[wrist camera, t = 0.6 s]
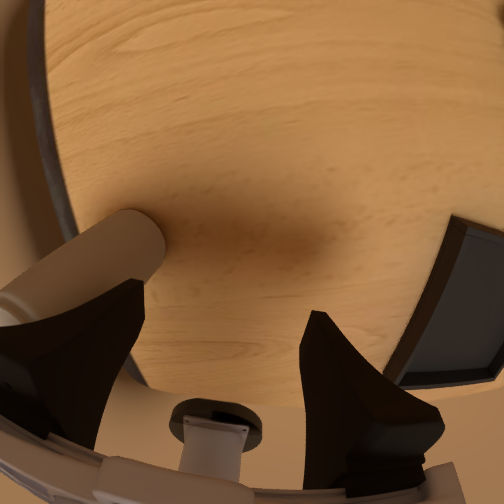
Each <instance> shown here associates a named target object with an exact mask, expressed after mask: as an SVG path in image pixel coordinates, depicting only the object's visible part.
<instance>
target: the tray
mask: <svg viewBox="0 0 504 504" xmlns="http://www.w3.org/2000/svg"><path fill="white" fill-rule="evenodd" d="M503 368H504V232H501V231H498V230H495V229H493V228H490V227H487V226H484V225H481V224H478V223H475V222H472V221H468V220H465V219H462V218H459V217H456V216H451V219H450V222H449V226H448V229H447V232H446V235H445V238H444V241H443V243H442V246H441V249H440V252H439V255H438V257H437V260H436V263H435V265H434V268H433V270H432V273H431V275H430V278H429V280H428V283H427V285H426V287H425V290H424V292H423V294H422V297H421V299H420V301H419V303H418V306H417V308H416V310H415V312H414V314H413V316H412V318H411V320H410V322H409V325H408V327H407V329H406V331H405V333H404V335H403V336H402V338H401V340H400V342H399V344H398V346H397V348H396V350H395V352H394V353H393V355H392V357H391V359H390V361H389V362H388V364H387V366H386V368H385V369H384V371H383V376H385V377H386V378H387V379H389V380H390V381H391V382H393V383H394V384H395V385H397V386H398V387H400V388H401V389H403V390H418V389H432V388H444V387H454V386H462V385H470V384H477V383H484V382H491V381H494V380H495V379H496V377H497V376H498V375H499V373H500V372H501V371H502V369H503Z"/></svg>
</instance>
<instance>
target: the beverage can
mask: <svg viewBox="0 0 504 504" xmlns="http://www.w3.org/2000/svg"><path fill="white" fill-rule="evenodd" d="M165 250H166V246H165V241H164V237H163V235H162V233H161V231H160V229H159V228H158V226H157V225H156V224H155V223H154V222H153V221H152V220H151V219H150V218H149V217H147V216H146V215H144V214H142V213H141V212H139V211H135V210H132V209H126V210H120V211H118V212H116V213H114V214H112V215H111V216H109V217H107V218H105V219H104V220H102V221H100V222H99V223H97V224H96V225H94V226H92V227H91V228H89V229H87V230H86V231H84V232H83V233H81V234H79V235H78V236H76V237H75V238H73V239H72V240H70V241H69V242H67V243H65V244H64V245H62V246H61V247H59V248H58V249H56V250H55V251H53V252H52V253H51V254H49V255H48V256H47V257H45V258H43V259H42V260H40V261H39V262H38V263H36V264H35V265H33V266H32V267H31V268H29V269H28V270H26V271H25V272H24V273H22V274H21V275H19V276H18V277H17V278H15V279H14V280H13V281H11V282H10V283H9V284H8V285H6V286H5V287H4V288H2V289H1V290H0V327H1V326H11V325H19V324H24V323H30V322H34V321H38V320H42V319H45V318H48V317H52V316H55V315H58V314H61V313H63V312H66V311H69V310H71V309H73V308H76V307H78V306H80V305H82V304H84V303H86V302H88V301H90V300H92V299H94V298H96V297H98V296H99V295H101V294H103V293H105V292H106V291H108V290H110V289H112V288H113V287H115V286H117V285H119V284H120V283H122V282H124V281H126V280H128V279H130V278H133V279H138V280H142V281H144V285H145V284H146V282H147V281H148V280H149V279H150V278H151V276H152V275H153V274H154V273H155V272H156V270H157V269H158V268H159V267H160V266H161V265H162V263H163V260H164V258H165Z"/></svg>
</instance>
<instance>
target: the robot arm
mask: <svg viewBox="0 0 504 504" xmlns="http://www.w3.org/2000/svg"><path fill="white" fill-rule="evenodd" d="M144 320H145V308H144V281H142V280H138V279H133V278H130V279H128V280H126V281H124V282H122V283H120V284H119V285H117V286H115V287H113V288H112V289H110V290H108V291H106V292H105V293H103V294H101V295H99V296H98V297H96V298H94V299H92V300H90V301H88V302H86V303H84V304H82V305H80V306H78V307H76V308H73V309H71V310H69V311H66V312H63V313H61V314H58V315H55V316H52V317H48V318H45V319H42V320H38V321H34V322H30V323H24V324H19V325H11V326H1V327H0V472H1V473H3V474H4V475H5V476H7V477H8V478H10V479H11V480H13V481H14V482H15V483H17V484H18V485H20V486H21V487H23V488H24V489H26V490H27V491H29V492H31V493H32V494H34V495H35V496H37V497H39V498H41V499H42V500H44V501H46V502H48V503H49V504H466V502H465V498H464V495H463V492H462V488H461V485H460V482H459V479H458V476H457V473H456V470H455V467H454V464H453V462H449V463H445V464H441V465H437V466H433V467H431V468H428V469H426V470H425V471H423V467H422V464H423V463H425V457H424V453H425V452H426V451H427V450H428V449H429V448H430V447H432V446H433V445H434V444H435V443H436V441H438V439H439V438H440V437H441V436H442V434H443V432H444V430H445V424H444V422H443V419H442V417H441V415H440V412H439V410H438V408H437V407H435V406H432V405H430V404H428V403H426V402H424V401H422V400H420V399H418V398H416V397H414V396H413V395H411V394H409V393H408V392H406V391H404V390H403V389H401V388H400V387H398V386H397V385H395V384H394V383H393V382H391V381H390V380H389V379H387V378H386V377H385V376H383V375H382V374H381V373H380V372H379V371H378V370H376V369H375V368H374V367H373V366H372V365H371V364H370V363H369V362H368V361H367V360H366V359H365V358H364V357H363V356H362V355H361V354H360V353H359V352H358V351H357V350H356V349H355V348H354V346H353V345H352V344H351V343H350V342H349V341H348V339H347V338H346V337H345V336H344V335H343V333H342V332H341V331H340V330H339V328H338V327H337V326H336V324H335V323H334V322H333V321H332V319H331V318H330V317H329V316H328V314H327V313H326V312H321V311H314V310H312V311H311V314H310V317H309V320H308V323H307V326H306V329H305V332H304V335H303V337H302V340H301V343H300V346H299V367H300V374H301V382H302V389H303V396H304V403H305V412H306V456H305V470H304V481H303V490H280V489H261V488H249V487H247V486H245V485H243V484H240V483H239V475H240V464H241V463H240V462H241V454H242V451H243V448H244V445H245V441H246V438H247V435H248V431H249V425H247V424H241V423H233V422H226V421H219V420H213V419H207V418H201V417H196V416H190V415H184V417H183V425H184V447H183V451H182V456H181V460H180V465H179V470H178V471H175V470H171V469H166V468H162V467H158V466H154V465H151V464H147V463H144V462H140V461H137V460H134V459H128V458H124V457H120V456H111V457H108V456H105V455H103V454H100V453H97V452H95V451H94V446H95V441H96V437H97V433H98V429H99V426H100V422H101V419H102V415H103V412H104V409H105V406H106V403H107V400H108V397H109V394H110V392H111V389H112V386H113V384H114V381H115V379H116V377H117V375H118V373H119V371H120V369H121V367H122V365H123V364H124V362H125V360H126V358H127V356H128V355H129V353H130V351H131V349H132V347H133V345H134V344H135V342H136V340H137V338H138V336H139V333H140V331H141V328H142V325H143V323H144Z"/></svg>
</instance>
